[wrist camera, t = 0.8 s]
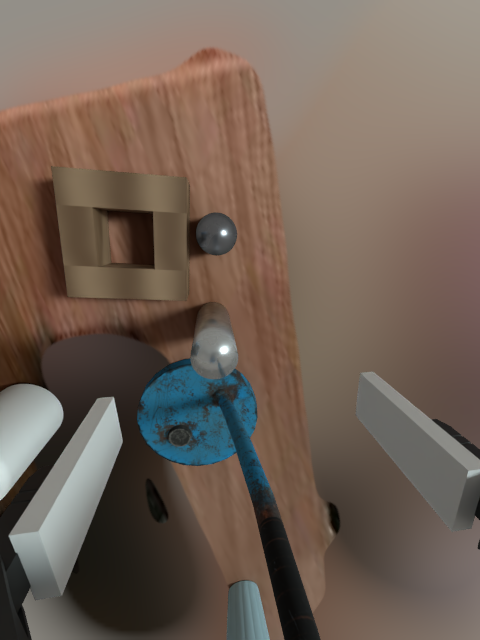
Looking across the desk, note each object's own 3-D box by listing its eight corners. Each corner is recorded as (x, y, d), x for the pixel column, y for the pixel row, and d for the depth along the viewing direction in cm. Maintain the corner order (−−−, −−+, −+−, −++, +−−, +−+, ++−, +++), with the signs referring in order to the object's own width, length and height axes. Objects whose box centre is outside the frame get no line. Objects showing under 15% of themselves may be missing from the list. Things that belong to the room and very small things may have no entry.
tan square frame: (84, 289, 32) (67, 296, 28) (72, 175, 29) (51, 166, 25) (189, 293, 33) (186, 300, 30) (189, 184, 30) (186, 177, 26)
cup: (223, 607, 51) (226, 696, 41) (220, 579, 49) (223, 666, 39) (263, 600, 52) (276, 686, 42) (263, 573, 50) (276, 657, 40)
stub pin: (198, 251, 32) (195, 254, 27) (198, 214, 31) (196, 211, 26) (232, 253, 33) (235, 256, 28) (233, 217, 31) (238, 214, 27)
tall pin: (197, 332, 35) (190, 379, 24) (197, 301, 34) (190, 335, 22) (228, 332, 36) (236, 379, 24) (229, 302, 34) (239, 336, 23)
